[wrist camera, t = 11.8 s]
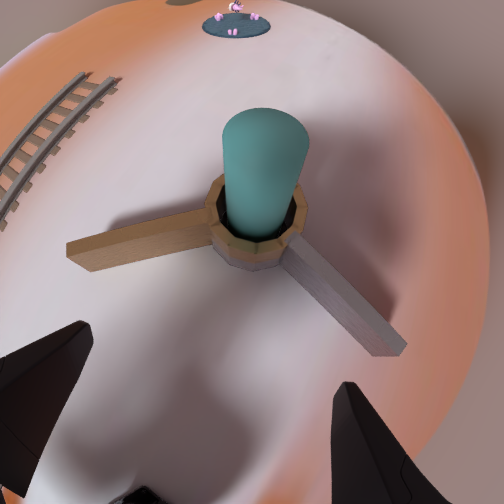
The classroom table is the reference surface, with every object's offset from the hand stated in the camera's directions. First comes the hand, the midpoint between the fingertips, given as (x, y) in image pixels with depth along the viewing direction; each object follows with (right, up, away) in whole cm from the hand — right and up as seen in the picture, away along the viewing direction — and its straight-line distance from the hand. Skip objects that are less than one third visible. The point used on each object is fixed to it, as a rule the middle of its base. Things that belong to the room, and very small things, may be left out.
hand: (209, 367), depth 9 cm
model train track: (-29, +16, +19) cm, 38 cm away
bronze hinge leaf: (-4, +4, +15) cm, 16 cm away
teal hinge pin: (+1, +6, +16) cm, 17 cm away
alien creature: (-1, +43, +30) cm, 52 cm away
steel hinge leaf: (+6, +2, +15) cm, 16 cm away
